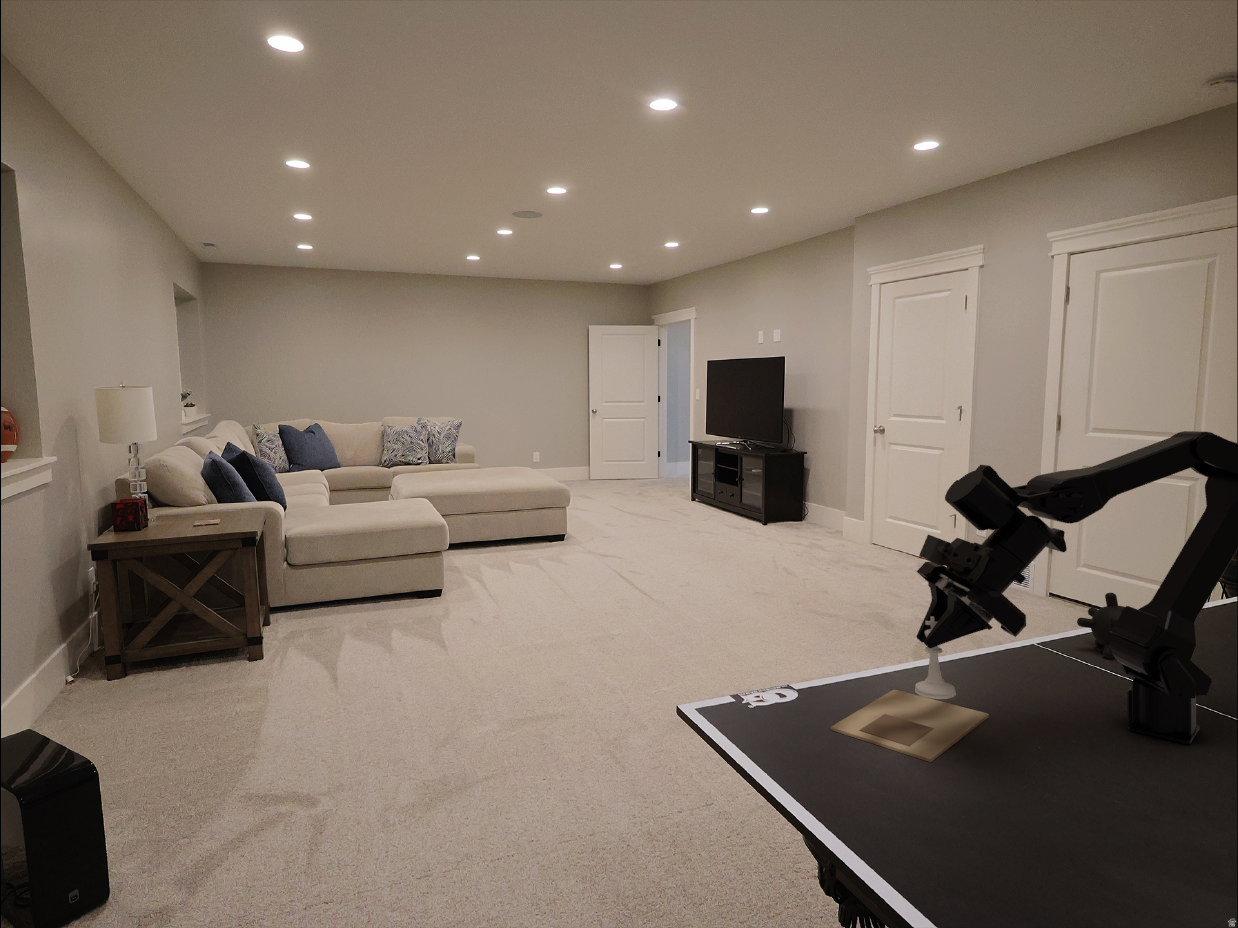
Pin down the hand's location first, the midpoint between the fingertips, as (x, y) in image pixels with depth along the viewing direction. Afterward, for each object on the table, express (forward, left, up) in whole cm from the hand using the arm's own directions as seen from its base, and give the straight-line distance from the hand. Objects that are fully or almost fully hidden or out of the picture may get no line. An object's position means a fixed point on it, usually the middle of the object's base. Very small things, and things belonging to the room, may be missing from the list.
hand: (922, 642), depth 94 cm
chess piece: (-1, -1, -7) cm, 7 cm away
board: (+4, -4, -13) cm, 14 cm away
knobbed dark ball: (-9, -53, -14) cm, 55 cm away
